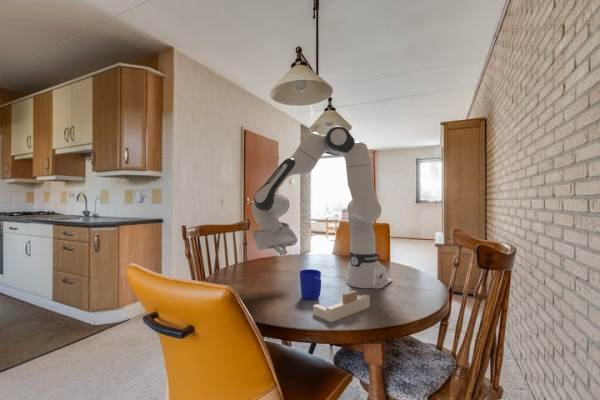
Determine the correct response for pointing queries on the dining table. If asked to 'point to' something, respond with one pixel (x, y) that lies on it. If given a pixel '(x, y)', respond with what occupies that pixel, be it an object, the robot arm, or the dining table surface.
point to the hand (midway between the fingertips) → (284, 254)
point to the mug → (310, 283)
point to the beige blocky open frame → (343, 307)
